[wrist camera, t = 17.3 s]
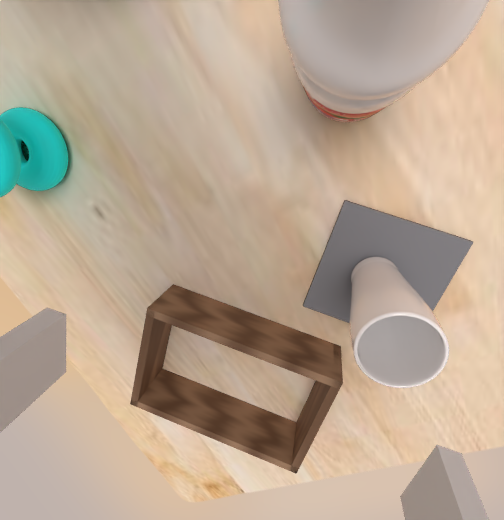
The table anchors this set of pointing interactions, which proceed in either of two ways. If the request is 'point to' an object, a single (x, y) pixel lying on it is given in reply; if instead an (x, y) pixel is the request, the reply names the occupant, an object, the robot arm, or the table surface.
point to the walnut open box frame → (224, 406)
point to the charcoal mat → (387, 246)
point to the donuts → (30, 151)
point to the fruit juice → (371, 48)
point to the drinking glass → (393, 327)
